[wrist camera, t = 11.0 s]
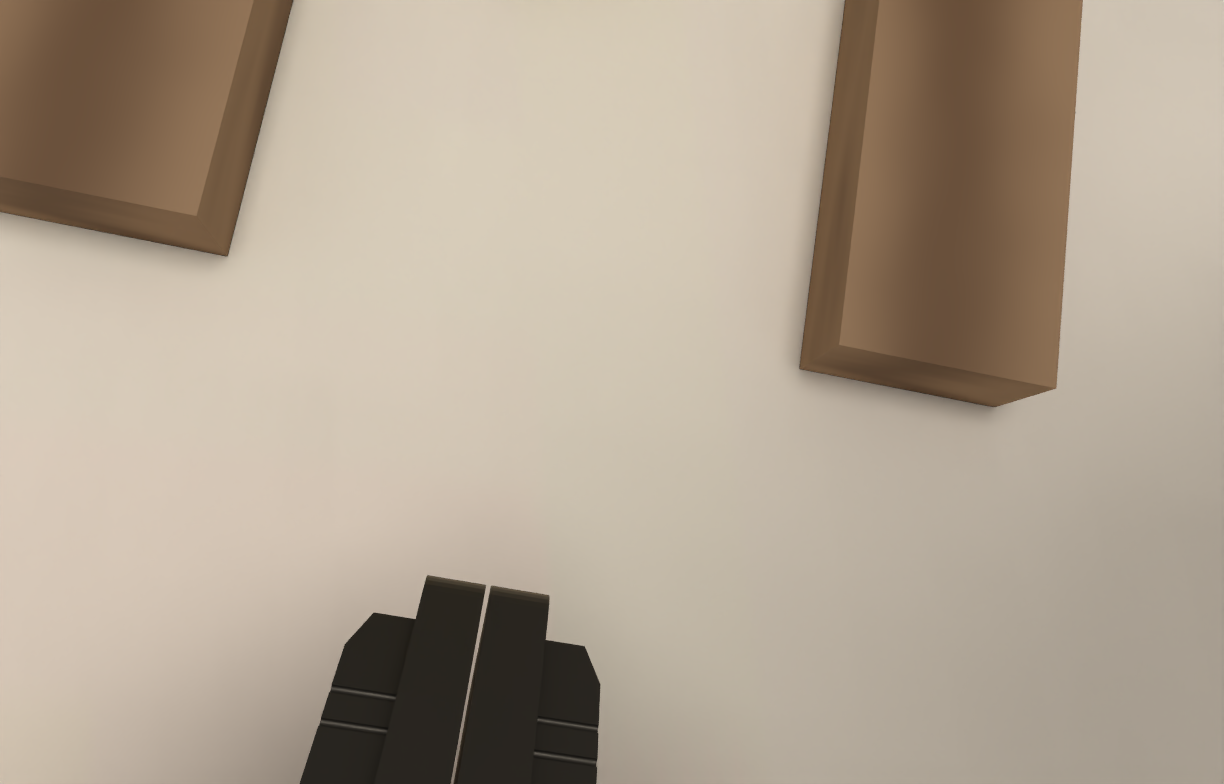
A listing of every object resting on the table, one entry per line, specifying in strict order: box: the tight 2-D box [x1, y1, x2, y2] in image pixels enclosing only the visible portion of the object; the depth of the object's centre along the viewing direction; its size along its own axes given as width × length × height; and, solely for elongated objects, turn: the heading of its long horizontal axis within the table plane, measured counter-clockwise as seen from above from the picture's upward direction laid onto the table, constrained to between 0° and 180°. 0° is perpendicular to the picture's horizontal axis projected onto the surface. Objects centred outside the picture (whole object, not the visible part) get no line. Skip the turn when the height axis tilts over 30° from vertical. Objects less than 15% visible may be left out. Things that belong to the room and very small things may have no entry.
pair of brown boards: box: [0, 0, 1083, 407], centre depth 26 cm, size 28×12×3 cm, turn 81°
